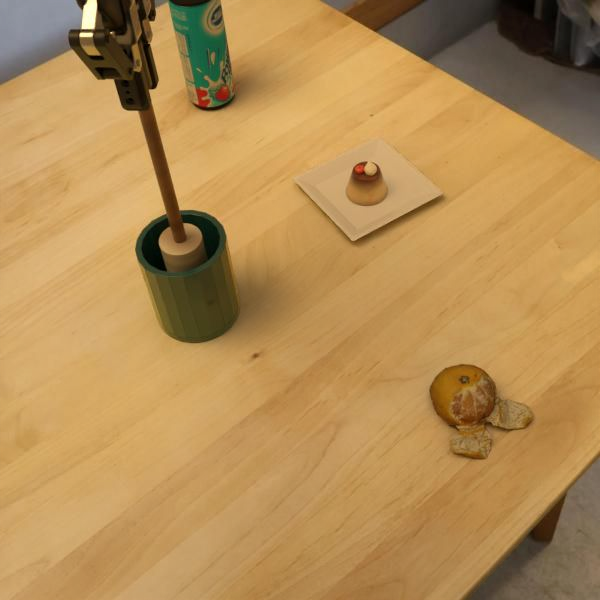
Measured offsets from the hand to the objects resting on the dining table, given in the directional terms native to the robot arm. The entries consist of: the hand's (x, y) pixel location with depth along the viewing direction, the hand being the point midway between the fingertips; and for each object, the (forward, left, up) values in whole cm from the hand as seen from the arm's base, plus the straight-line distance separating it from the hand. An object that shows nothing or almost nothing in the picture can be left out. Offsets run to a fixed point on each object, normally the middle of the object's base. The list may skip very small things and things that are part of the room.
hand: (141, 96), depth 66 cm
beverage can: (+27, +21, -27) cm, 43 cm away
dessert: (+23, -5, -27) cm, 36 cm away
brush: (0, 0, -23) cm, 23 cm away
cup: (0, 0, -27) cm, 27 cm away
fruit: (+4, -29, -27) cm, 40 cm away
